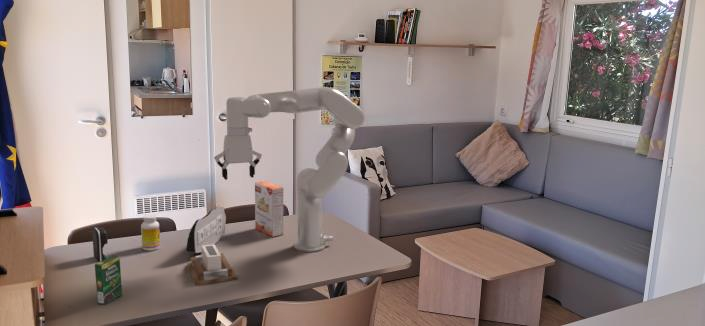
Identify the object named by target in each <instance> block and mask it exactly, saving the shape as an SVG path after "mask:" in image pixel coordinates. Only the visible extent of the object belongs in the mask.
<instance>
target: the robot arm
mask: <svg viewBox="0 0 705 326" xmlns="http://www.w3.org/2000/svg"><path fill="white" fill-rule="evenodd" d="M225 104H226V134H225V135H224V139H223V149H222V150H223V151H222V152H220V153H218V154H216V155H214V157H213V159H214V160H215V162H216V164H217V165H218V166H219V167H220V168H221V177H222V178H223V179H224V180H225V181H226V180H228V169H227V167H228V166H229V164H230V165H231V164H243V163H244V164H245V163H246V164H247V163H248V164H249V177H250V178H255V177H254V176H255V174H256V168H255V167H256V166H257V165H258V163H260V160H261V159H262V156H263V154H262V153H260V152H257V151H255V150H253V143H252V139H251V135H250V133H251V132H253V128H252V127H249V118H254V119H264V118H266V117H268V116H269V115H270V114H271V113H286V114H287V113H288V114H301V113H306V112H308V113H309V112H315V111H316V112H317V111H321V110H322V111H323V110H325V111H327V112H329V114H331V115H332V116H333V119H334V131H333V133H332V134H331V136H330V137H329V139H328V140H327V141H326V143H325V144H324V145H323V146H322V147H321V148H320V150H319V151H318V153H317V154H316V156H315V164H316V166H317V167H318V169H315V168H311V167H307V168H304V169H302V170H300V171H299V172H298V174H297V176H296V191H297V192H296V193H297V240H296V241H294V242H293V248H294V249H295V250H297V251H300V252H306V253H308V252H309V253H313V252H318V251H323V250H324V249H325V248H326V242H331V241H334V237H333V235H328V234H325V235H324V234H323V233H322V232H323V230H322V229H323V228H322V227H323V198H326V196H327V195H329V194H330V193H331V192H332V190H333V189H334V188H335V186H336V185H337V184H338V182H339V181H340V180H341V179H342V177H343V176H344V175H345V173H346V172H347V169H348V165H349V160H348V157H347V155H346V154H347V152H348V151H349V150H350V148H351V147H352V145H353V142H354V140H355V135H356V129H360V127H361V126H362V125H363V124H364V122H365V120H366V119H365V117H366V116H365V114H364V111H363V110H362V109H361V107H360V106H358V105H357V104H356V103H354V102H353V101H352V100H351V99H349V98H348V97H347V96H346V95H344V94H343V93H342V92H340V91H339V90H337V88H332V87H327V86H321V87H319V86H318V87H311V88H304V89H297V90H294V89H293V90H287V91H279V92H278V91H277V92H265V93H257V94H252V95H249V96H248V97H246V98H245V97H240V96H236V97H234V96H232V97H228V98H227V100H226V103H225ZM254 156H255V157H256V158H255V159H254ZM221 158H222V159H223V162H221V160H220V159H221ZM253 159H254V160H253Z"/></svg>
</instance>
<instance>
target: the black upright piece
mask: <svg viewBox="0 0 705 326" xmlns="http://www.w3.org/2000/svg"><path fill="white" fill-rule="evenodd" d="M91 232H92V233H91V234H92V236H91V237H92V246H93V247H92V248H93V257H94V258H95V259H96V261H98V262H101V261H103V260H105V259H107V258H108V257H107V256H106V255H105V254H104V247H105V245H108V243H109V242H108V233H107V231H106V229H105V228H104V227H101V226H100V227H93V228H92V229H91Z"/></svg>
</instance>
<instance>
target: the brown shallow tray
mask: <svg viewBox="0 0 705 326" xmlns="http://www.w3.org/2000/svg"><path fill="white" fill-rule="evenodd" d="M220 255H221V269H220V270H212V271H205V269H204V267H203V265H202V254H200V255H195V256H192V257H190V262H188V263H187V262H186V267H187V269H188V272H189V274H190V276H191V279H192V280H193V284H194V286H199V285H207V284H213V283H219V282H220V283H221V282H227V281H234V280H238V275H237V273H236V272H235V271H234V269H233V266H231V263H229V261H228V260H227V258H226V256H225V255H224V254H223V253H220Z"/></svg>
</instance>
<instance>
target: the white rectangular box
mask: <svg viewBox="0 0 705 326" xmlns="http://www.w3.org/2000/svg"><path fill="white" fill-rule="evenodd" d="M220 254H221V253H220V251H219V250H218V247H217V246H216V243H215V244H213V245H204V246H202V252H201V255H202V265H203V267H204V269H205V271H212V270H220V269H221V255H220Z"/></svg>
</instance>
